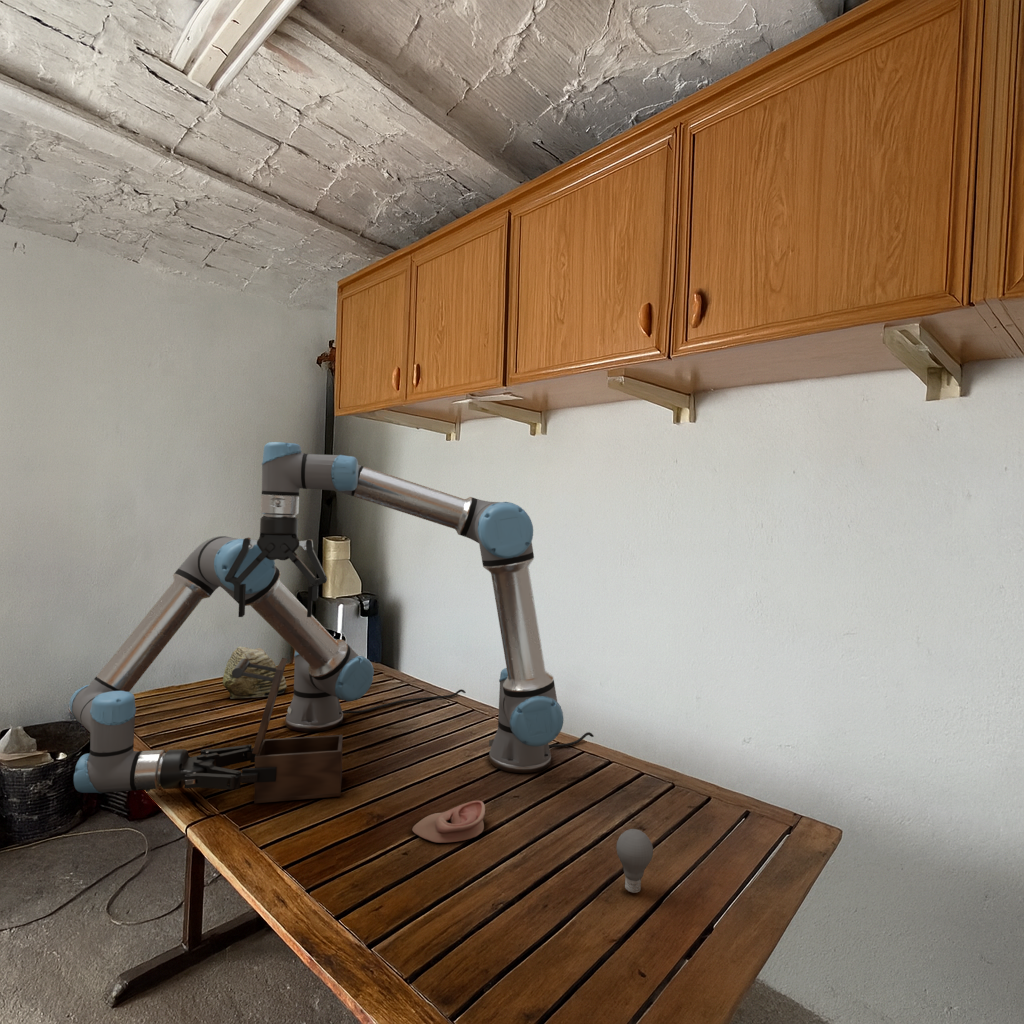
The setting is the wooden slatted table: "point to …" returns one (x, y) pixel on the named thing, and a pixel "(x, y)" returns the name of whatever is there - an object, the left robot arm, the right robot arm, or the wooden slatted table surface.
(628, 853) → the light bulb
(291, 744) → the chest
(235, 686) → the fossil
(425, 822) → the anatomical model
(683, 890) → the wooden slatted table surface
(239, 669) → the lid
